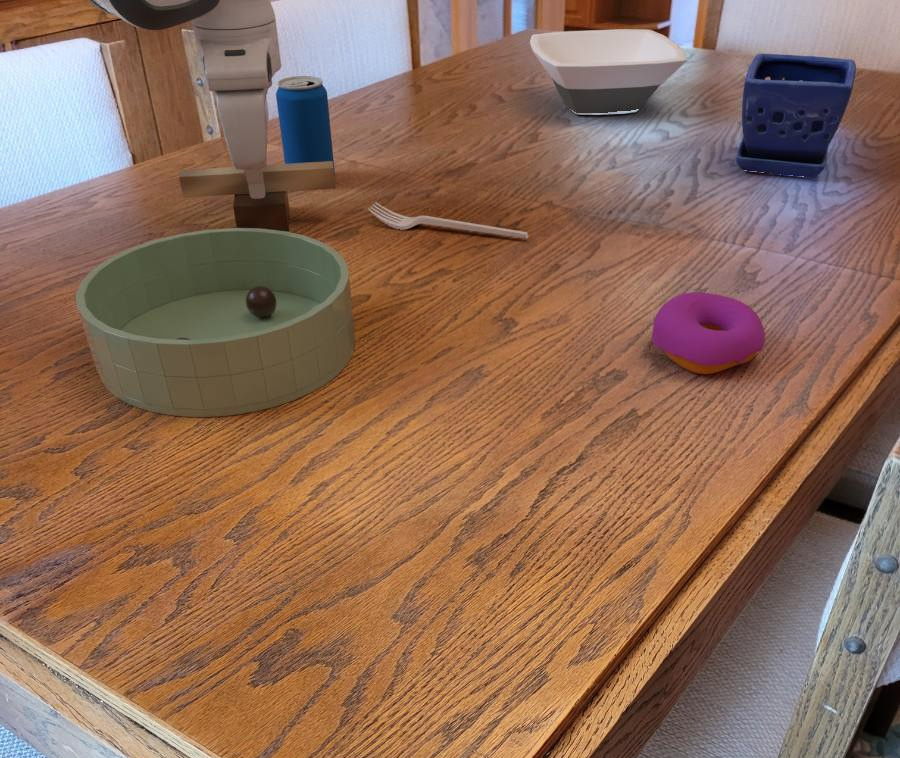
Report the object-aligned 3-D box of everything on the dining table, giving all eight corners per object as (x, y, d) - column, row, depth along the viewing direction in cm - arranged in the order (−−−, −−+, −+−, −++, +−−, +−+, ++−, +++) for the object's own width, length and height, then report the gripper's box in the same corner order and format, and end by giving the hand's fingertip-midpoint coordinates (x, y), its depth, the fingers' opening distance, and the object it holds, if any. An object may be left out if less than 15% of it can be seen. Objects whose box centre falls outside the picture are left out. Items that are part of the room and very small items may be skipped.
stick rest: (239, 240, 107) (232, 206, 104) (241, 210, 114) (236, 177, 112) (289, 237, 108) (285, 203, 105) (289, 207, 115) (285, 174, 112)
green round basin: (78, 428, 78) (52, 354, 73) (116, 302, 95) (98, 236, 91) (362, 404, 80) (356, 331, 75) (348, 286, 98) (342, 220, 93)
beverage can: (344, 183, 121) (335, 83, 113) (301, 193, 118) (288, 91, 110) (321, 170, 125) (310, 72, 117) (279, 179, 122) (265, 80, 114)
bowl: (519, 90, 152) (521, 32, 146) (651, 84, 154) (658, 27, 148) (543, 130, 136) (546, 67, 131) (690, 123, 138) (699, 60, 132)
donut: (691, 390, 81) (700, 343, 78) (627, 342, 87) (632, 297, 84) (781, 363, 84) (793, 317, 81) (712, 319, 91) (721, 275, 88)
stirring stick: (183, 197, 107) (178, 176, 105) (184, 190, 108) (180, 169, 107) (335, 188, 108) (333, 167, 106) (334, 181, 110) (332, 160, 108)
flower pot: (829, 186, 117) (856, 84, 109) (725, 176, 121) (744, 76, 112) (832, 154, 126) (857, 58, 118) (735, 146, 130) (754, 51, 121)
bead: (248, 324, 90) (242, 295, 88) (249, 310, 92) (243, 282, 90) (278, 321, 90) (273, 293, 88) (278, 308, 92) (274, 280, 90)
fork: (523, 246, 105) (524, 229, 103) (366, 225, 110) (365, 209, 109) (531, 235, 107) (532, 219, 106) (377, 215, 112) (376, 200, 111)
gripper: (214, 32, 105) (235, 157, 115) (203, 77, 91) (228, 217, 100) (269, 29, 106) (285, 154, 116) (266, 74, 91) (285, 213, 101)
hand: (259, 184), depth 108 cm, fingers open, 7 cm apart
